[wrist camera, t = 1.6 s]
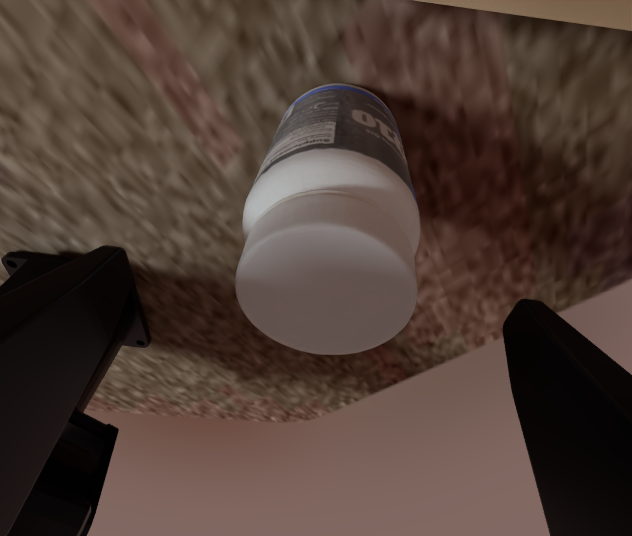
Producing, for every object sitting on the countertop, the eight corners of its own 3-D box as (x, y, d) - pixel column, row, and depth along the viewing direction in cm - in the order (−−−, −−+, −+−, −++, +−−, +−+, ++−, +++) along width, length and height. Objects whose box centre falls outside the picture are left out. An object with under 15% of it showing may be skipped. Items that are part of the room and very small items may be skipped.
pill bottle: (419, 167, 15) (469, 335, 8) (317, 216, 16) (296, 383, 10) (364, 50, 12) (376, 162, 6) (252, 123, 14) (169, 268, 8)
